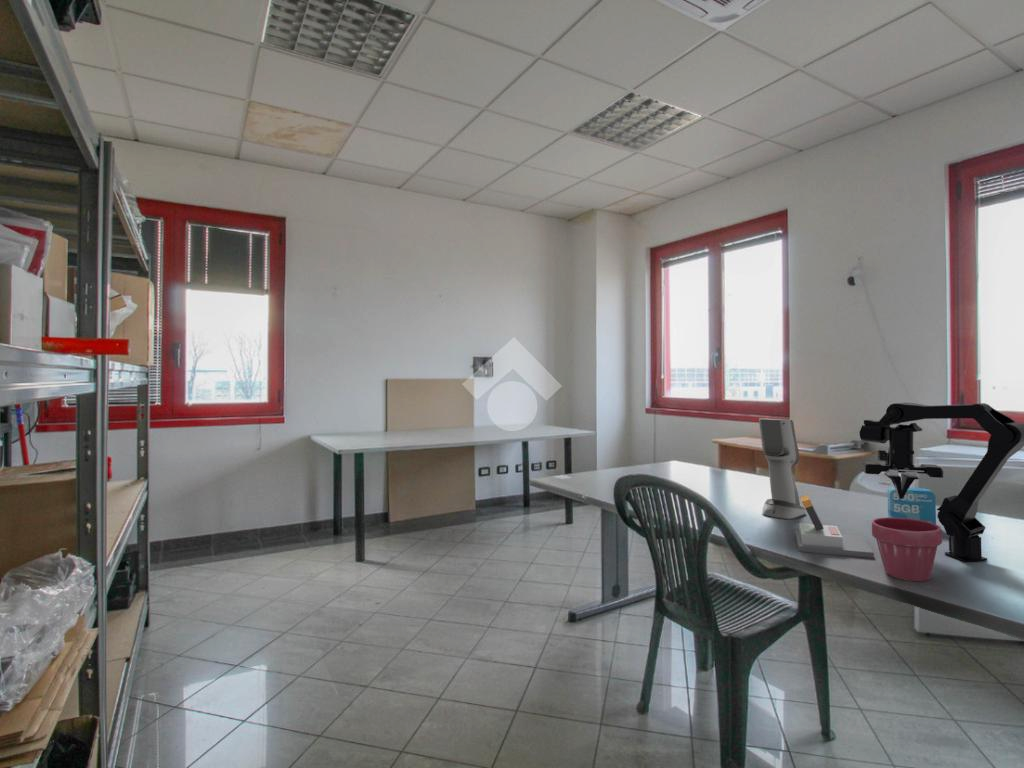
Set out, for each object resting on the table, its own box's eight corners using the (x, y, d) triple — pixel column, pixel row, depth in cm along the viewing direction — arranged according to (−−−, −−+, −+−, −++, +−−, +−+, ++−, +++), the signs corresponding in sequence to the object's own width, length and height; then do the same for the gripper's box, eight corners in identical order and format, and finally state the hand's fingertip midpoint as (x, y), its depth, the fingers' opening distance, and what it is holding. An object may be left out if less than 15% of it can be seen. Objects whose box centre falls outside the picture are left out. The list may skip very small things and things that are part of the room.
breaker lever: (821, 522, 161) (807, 494, 163) (824, 528, 155) (809, 499, 156) (813, 524, 162) (800, 496, 164) (816, 531, 156) (801, 501, 157)
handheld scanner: (756, 514, 195) (754, 418, 194) (775, 508, 202) (772, 415, 202) (789, 520, 185) (786, 419, 185) (807, 514, 193) (804, 416, 192)
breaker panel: (863, 541, 161) (863, 525, 161) (873, 558, 146) (873, 541, 146) (795, 535, 168) (795, 520, 168) (799, 551, 154) (798, 535, 154)
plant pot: (866, 562, 143) (865, 514, 143) (930, 567, 138) (929, 518, 138) (881, 582, 130) (879, 529, 130) (952, 588, 125) (951, 533, 125)
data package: (890, 525, 175) (889, 489, 175) (888, 522, 179) (887, 486, 179) (936, 529, 170) (935, 491, 170) (932, 525, 174) (931, 488, 174)
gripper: (930, 442, 161) (930, 494, 162) (857, 440, 168) (857, 490, 169) (944, 448, 151) (943, 503, 151) (866, 445, 158) (865, 498, 158)
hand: (900, 498), depth 158 cm, fingers closed
